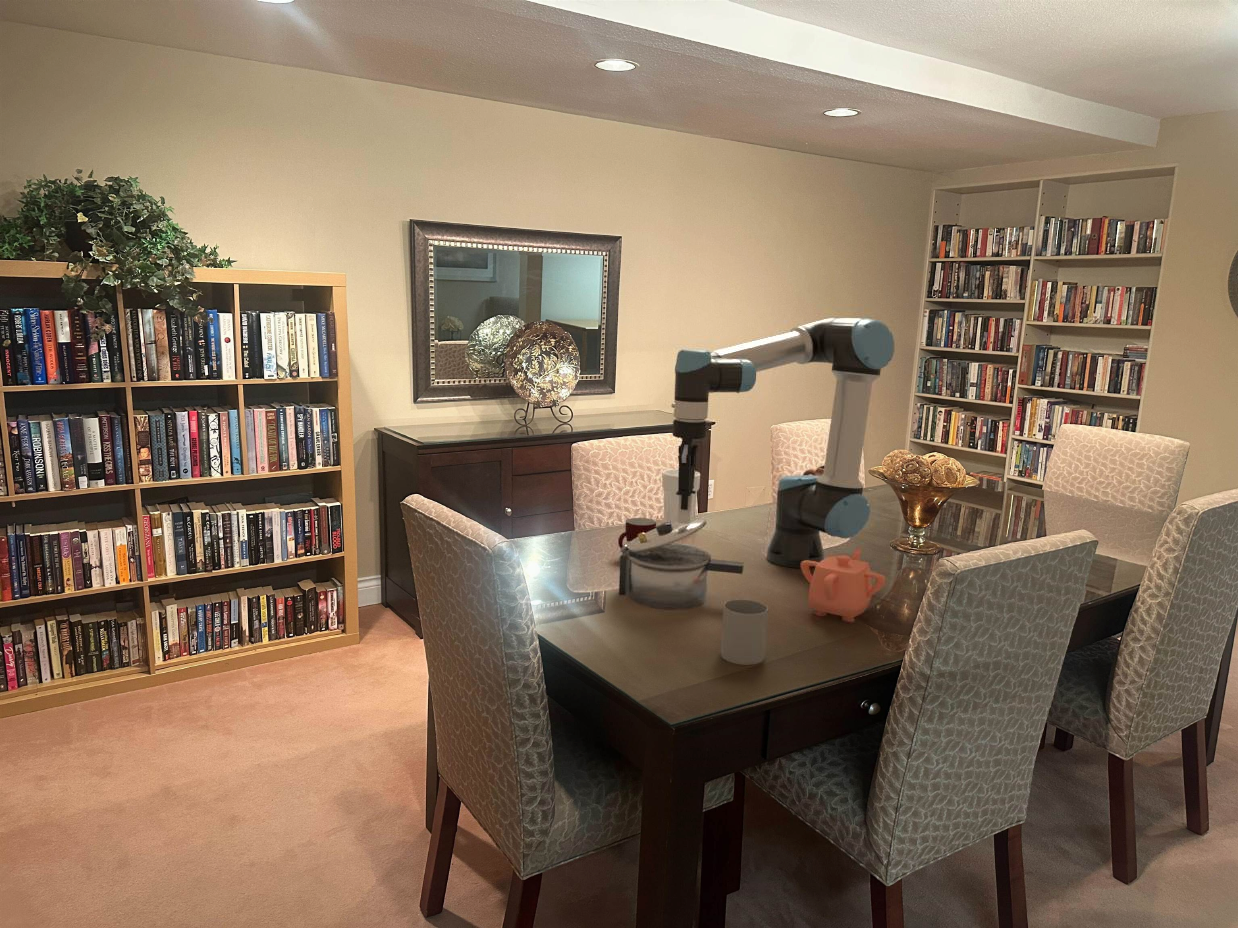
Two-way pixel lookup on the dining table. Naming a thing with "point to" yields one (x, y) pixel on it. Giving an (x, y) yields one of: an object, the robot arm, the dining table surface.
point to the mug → (636, 528)
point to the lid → (664, 535)
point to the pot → (670, 575)
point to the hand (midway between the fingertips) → (684, 522)
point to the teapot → (841, 585)
